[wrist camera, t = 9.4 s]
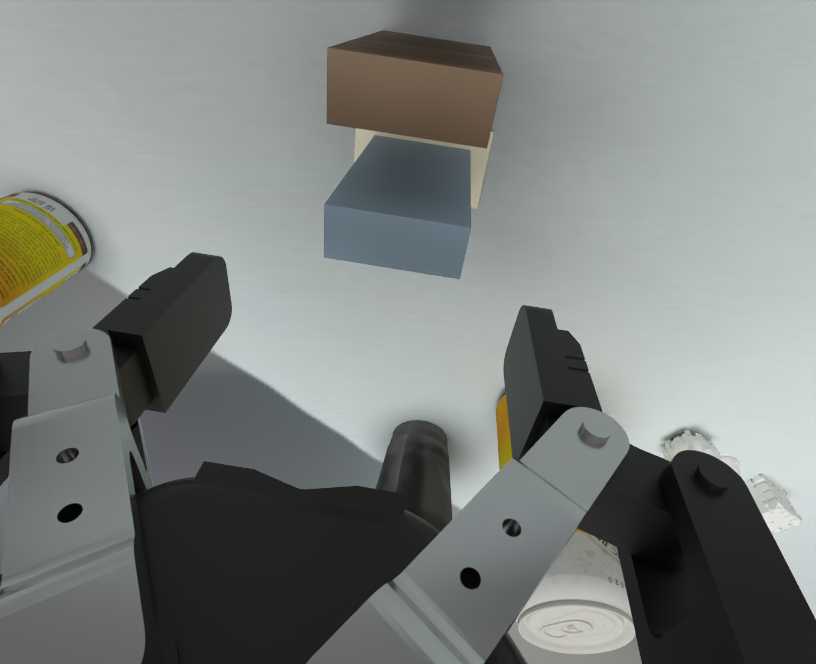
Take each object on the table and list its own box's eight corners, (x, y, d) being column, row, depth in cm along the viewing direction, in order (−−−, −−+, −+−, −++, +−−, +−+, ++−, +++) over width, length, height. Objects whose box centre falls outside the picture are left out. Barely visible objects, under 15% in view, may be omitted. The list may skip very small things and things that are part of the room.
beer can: (596, 409, 33) (670, 643, 21) (527, 442, 36) (556, 665, 24) (549, 359, 31) (599, 589, 19) (478, 399, 34) (484, 620, 22)
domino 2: (374, 134, 23) (324, 204, 15) (470, 149, 23) (470, 227, 15) (371, 173, 24) (323, 257, 16) (463, 188, 24) (459, 279, 16)
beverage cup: (477, 422, 35) (483, 776, 19) (447, 476, 39) (432, 800, 23) (387, 397, 35) (316, 739, 19) (367, 454, 39) (296, 771, 23)
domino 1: (382, 30, 21) (327, 47, 13) (490, 46, 21) (502, 74, 13) (379, 79, 22) (326, 123, 14) (480, 95, 22) (487, 148, 14)
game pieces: (782, 485, 36) (806, 522, 33) (741, 502, 38) (762, 539, 35) (687, 416, 33) (707, 451, 30) (648, 438, 34) (663, 474, 32)
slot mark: (357, 110, 23) (356, 110, 23) (493, 131, 23) (493, 132, 22) (353, 187, 25) (352, 188, 25) (477, 207, 25) (476, 208, 25)
